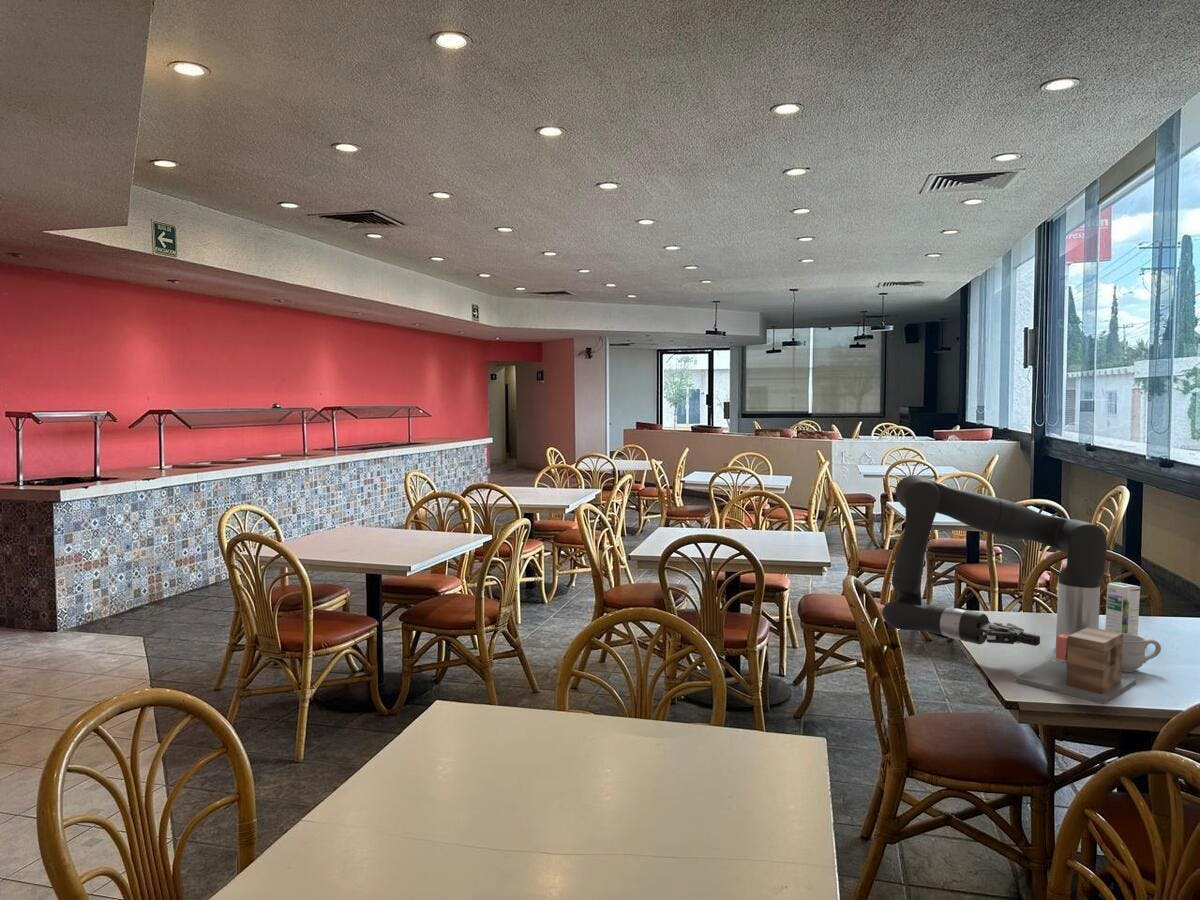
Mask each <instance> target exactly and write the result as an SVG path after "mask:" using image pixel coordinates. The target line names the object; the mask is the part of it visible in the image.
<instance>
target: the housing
mask: <svg viewBox="0 0 1200 900" xmlns="http://www.w3.org/2000/svg"><path fill="white" fill-rule="evenodd" d="M1122 649H1123V633H1118V632H1113V631H1108V630H1105V629H1102V628H1098V629H1097V628H1092V627H1087V628H1084V629H1082V630H1080V631H1078V632H1076V633H1074V634H1071V635H1069V636H1068V655H1067V660H1066V664H1067V679H1066V686H1070V687H1074V688H1078V689H1082V690H1087V691H1091V692H1095V693H1099V694H1103V693H1105V692H1106V691H1108V690H1110V689H1111V688H1113V687H1114V686H1116V685H1118V684H1119V683H1121V676H1122Z"/></svg>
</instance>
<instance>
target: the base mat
mask: <svg viewBox="0 0 1200 900" xmlns="http://www.w3.org/2000/svg"><path fill="white" fill-rule="evenodd" d="M1066 679H1067V663H1065V662H1059V661H1056V660H1051V659H1049V660H1047V661H1045V662H1042V663H1041V664H1040V665H1038V666H1036V667H1033V668H1031V669H1029V670H1027V671H1025V672H1023V673H1021V674H1019V675H1017V676H1015V677H1014V681H1015V682H1016V683H1020V684H1023V685H1026V686H1027V685H1028V686H1031V687H1035V688H1040V689H1043V690H1047V691H1050V690H1052V691H1051V692H1054V691H1056V692H1055V693H1058V692H1061V693H1060V694H1062V693H1065V694H1064V695H1066V694H1069V695H1068V696H1070V695H1073V696H1072V697H1074V696H1077V697H1076V698H1078V697H1081V698H1080V699H1082V698H1085V699H1084V700H1086V699H1089V700H1088V701H1090V700H1093V701H1092V702H1094V701H1096V702H1095V703H1098V702H1100V703H1099V704H1102V703H1103V704H1104V705H1105V704H1107V703H1110V701H1112V700H1113V699H1115V698H1116V697H1118V696H1120V695H1121V694H1122V693H1124V692H1125V691H1127V690H1128V689H1131V688H1132V687H1133V686H1135V685H1136V684H1137V679H1135V678H1132V677H1128V676H1123V675H1121V683H1119V684H1118V685H1116V686H1114V687H1113V688H1111V689H1110V690H1108V691H1106V692H1105V693H1103V694H1099V693H1095V692H1091V691H1087V690H1082V689H1078V688H1074V687H1070V686H1066ZM1015 682H1014V683H1015Z"/></svg>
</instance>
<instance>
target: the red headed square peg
mask: <svg viewBox="0 0 1200 900" xmlns="http://www.w3.org/2000/svg"><path fill="white" fill-rule="evenodd" d="M1069 635H1071V634H1070V633H1063V634H1061V635H1059V636H1057V643H1056V642H1055V649H1056V650H1055V659H1057V660H1062V661H1066V662H1067V655H1068V636H1069Z"/></svg>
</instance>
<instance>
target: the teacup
mask: <svg viewBox="0 0 1200 900" xmlns="http://www.w3.org/2000/svg"><path fill="white" fill-rule="evenodd" d="M1151 644H1152V645H1153V646H1155V650H1154V651H1152V653H1151V652H1150V654H1147V655H1146V649H1147V647H1148V645H1151ZM1161 651H1162V647H1161V644H1160V643H1159V642H1158V641H1157V640H1156V639H1151V638H1148V639H1146V638H1145V637H1142V636H1140V635H1138V636H1136V635H1131V634H1126V633H1123V649H1122V672H1125V673H1131V672H1132V673H1133V672H1135V671H1137V670H1138V669H1140V668H1141V667H1142V666H1143V665H1144V664H1146V663H1147V662H1148V661H1149V660H1152V659H1154V658H1156V657H1157V656H1159V654H1161ZM1122 672H1121V673H1122Z"/></svg>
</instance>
